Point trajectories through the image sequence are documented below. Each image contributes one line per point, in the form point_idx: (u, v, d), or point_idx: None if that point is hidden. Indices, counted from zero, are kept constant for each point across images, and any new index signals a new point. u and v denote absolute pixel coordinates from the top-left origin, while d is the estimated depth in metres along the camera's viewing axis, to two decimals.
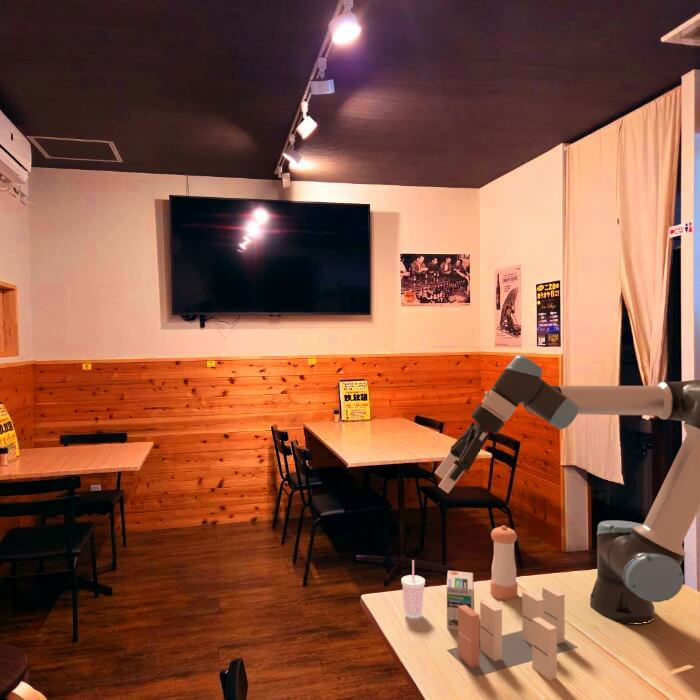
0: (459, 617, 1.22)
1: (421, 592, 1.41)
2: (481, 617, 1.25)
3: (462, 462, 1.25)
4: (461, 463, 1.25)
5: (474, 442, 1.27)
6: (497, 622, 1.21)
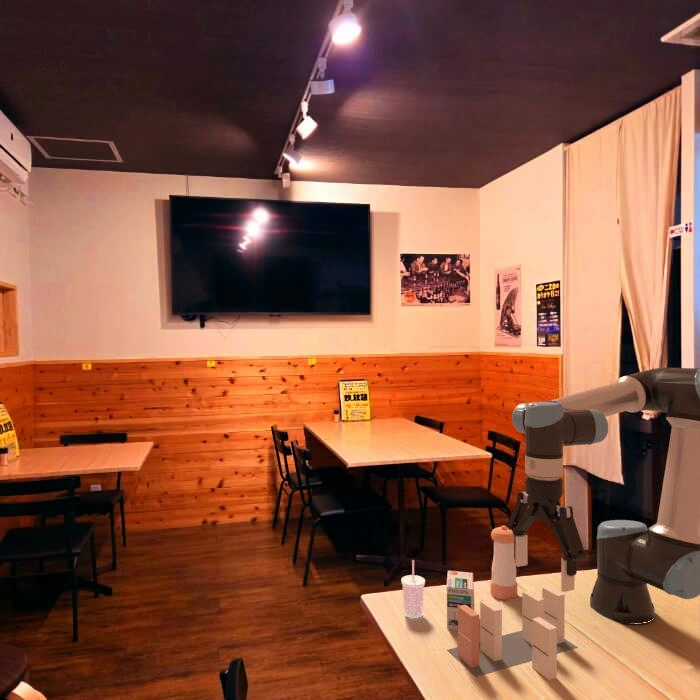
0: (459, 617, 1.22)
1: (421, 592, 1.41)
2: (481, 617, 1.25)
3: (577, 555, 1.07)
4: (577, 557, 1.07)
5: (567, 525, 1.09)
6: (497, 622, 1.21)
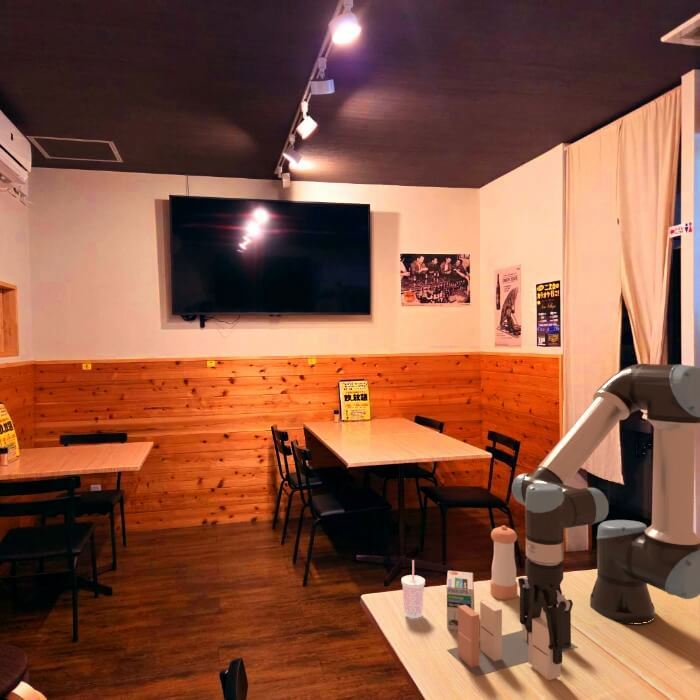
0: (459, 617, 1.22)
1: (421, 592, 1.41)
2: (481, 617, 1.25)
3: (562, 646, 1.10)
4: (562, 647, 1.10)
5: (562, 619, 1.10)
6: (497, 622, 1.21)
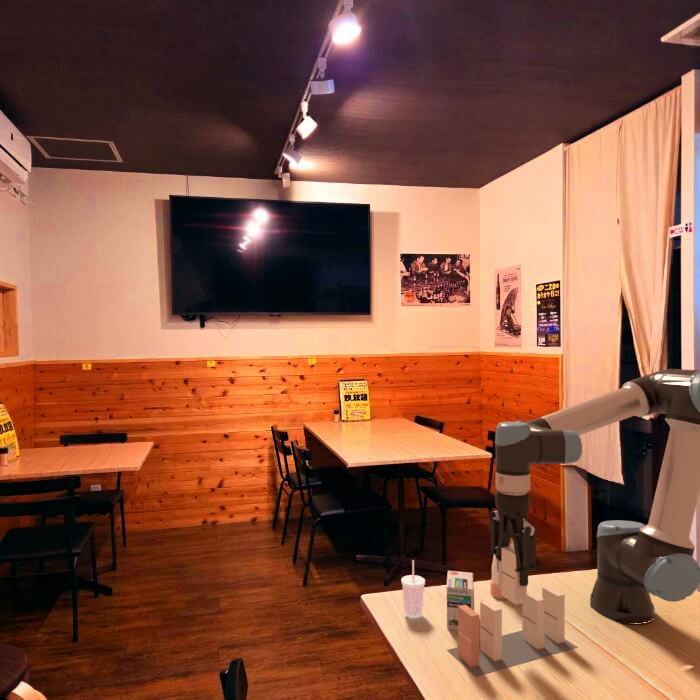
0: (459, 617, 1.22)
1: (421, 592, 1.41)
2: (481, 617, 1.25)
3: (527, 568, 1.20)
4: (527, 569, 1.19)
5: (528, 543, 1.19)
6: (497, 622, 1.21)
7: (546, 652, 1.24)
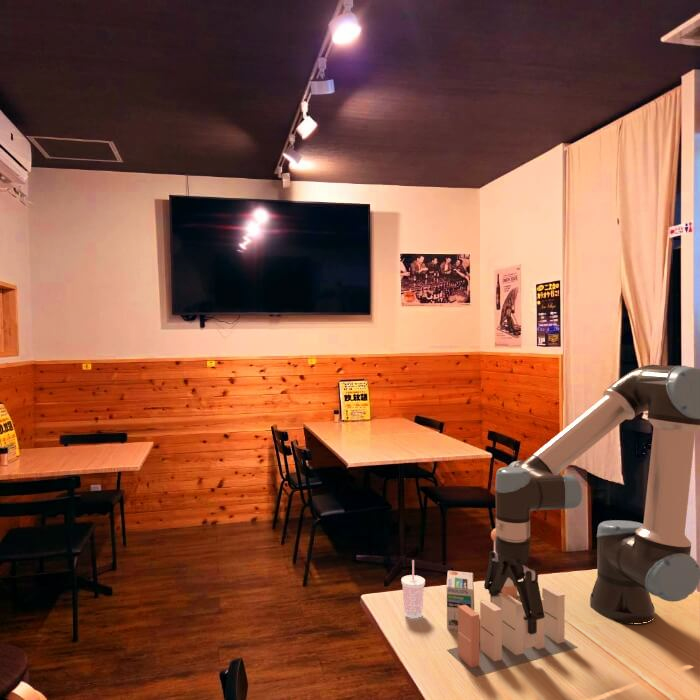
0: (459, 617, 1.22)
1: (421, 592, 1.41)
2: (481, 617, 1.25)
3: (536, 616, 1.17)
4: (536, 618, 1.17)
5: (531, 588, 1.19)
6: (497, 622, 1.21)
7: (546, 652, 1.24)
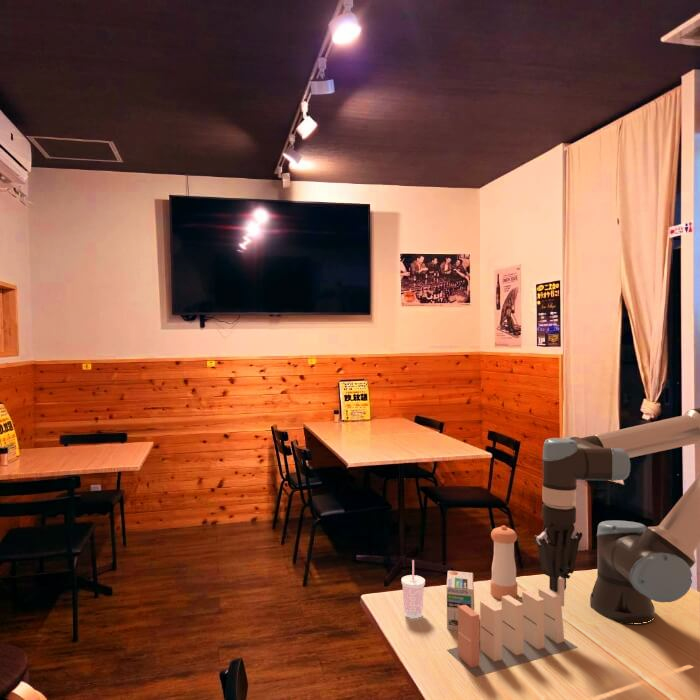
0: (459, 617, 1.22)
1: (421, 592, 1.41)
2: (481, 617, 1.25)
3: (543, 570, 1.30)
4: (543, 571, 1.30)
5: (539, 549, 1.30)
6: (497, 622, 1.21)
7: (546, 652, 1.24)
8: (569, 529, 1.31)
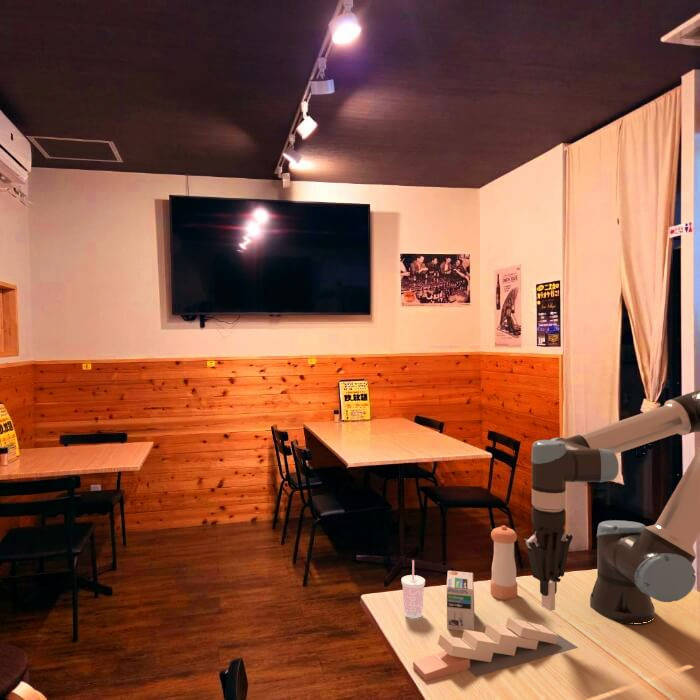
0: None
1: (421, 592, 1.41)
2: None
3: (533, 574, 1.29)
4: (533, 575, 1.29)
5: (529, 553, 1.28)
6: (461, 652, 1.17)
7: (546, 652, 1.24)
8: (559, 532, 1.29)
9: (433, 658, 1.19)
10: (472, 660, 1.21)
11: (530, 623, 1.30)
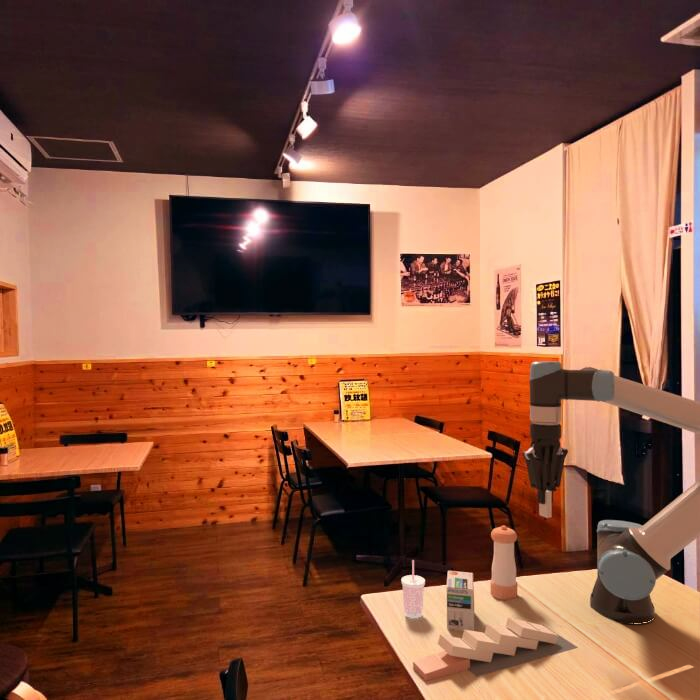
0: None
1: (421, 592, 1.41)
2: None
3: (531, 484, 1.39)
4: (531, 485, 1.39)
5: (527, 464, 1.38)
6: (461, 652, 1.17)
7: (546, 652, 1.24)
8: (555, 445, 1.39)
9: (433, 658, 1.19)
10: (472, 660, 1.21)
11: (530, 623, 1.30)
